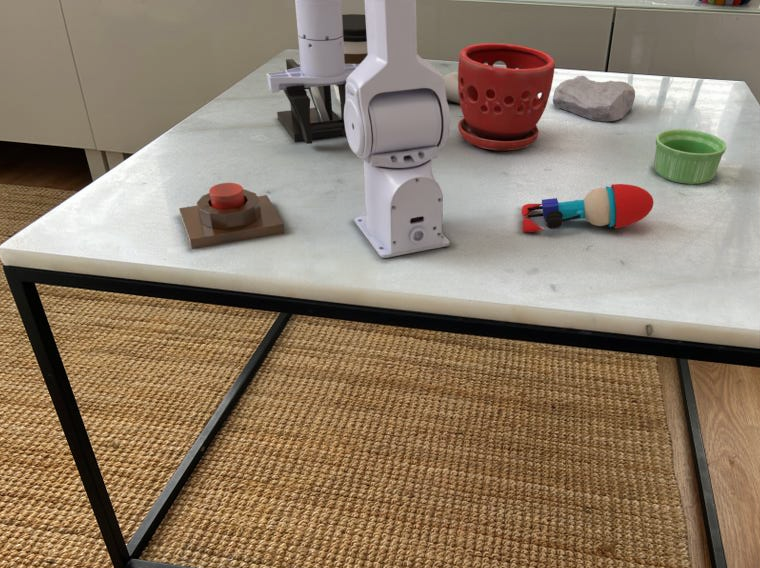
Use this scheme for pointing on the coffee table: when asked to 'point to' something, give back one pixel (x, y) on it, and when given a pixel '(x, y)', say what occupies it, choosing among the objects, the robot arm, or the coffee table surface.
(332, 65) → the robot arm
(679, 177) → the ramekin
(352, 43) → the coffee cup
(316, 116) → the bracket
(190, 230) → the button block
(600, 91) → the stone block
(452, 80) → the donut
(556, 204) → the toy figure
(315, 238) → the coffee table surface
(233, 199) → the button
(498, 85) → the flower pot
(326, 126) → the lever
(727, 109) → the coffee table surface
